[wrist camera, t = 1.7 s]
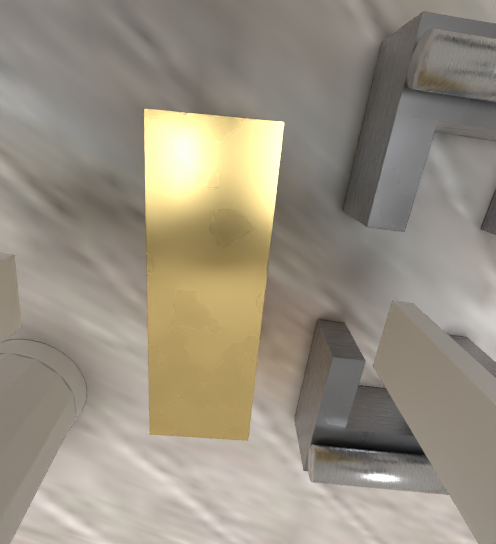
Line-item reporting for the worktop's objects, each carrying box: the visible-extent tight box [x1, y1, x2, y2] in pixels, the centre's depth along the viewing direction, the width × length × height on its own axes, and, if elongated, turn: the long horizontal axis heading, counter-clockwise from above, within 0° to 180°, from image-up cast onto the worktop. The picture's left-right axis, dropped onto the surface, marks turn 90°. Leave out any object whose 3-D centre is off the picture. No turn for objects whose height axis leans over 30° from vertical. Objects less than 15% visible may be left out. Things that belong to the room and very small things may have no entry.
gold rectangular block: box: [144, 109, 284, 441], centre depth 15 cm, size 12×4×6 cm, turn 175°
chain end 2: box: [295, 320, 496, 495], centre depth 18 cm, size 7×8×5 cm
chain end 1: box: [343, 12, 496, 234], centre depth 13 cm, size 7×8×5 cm
